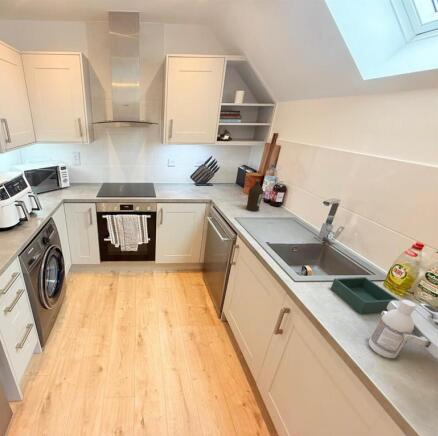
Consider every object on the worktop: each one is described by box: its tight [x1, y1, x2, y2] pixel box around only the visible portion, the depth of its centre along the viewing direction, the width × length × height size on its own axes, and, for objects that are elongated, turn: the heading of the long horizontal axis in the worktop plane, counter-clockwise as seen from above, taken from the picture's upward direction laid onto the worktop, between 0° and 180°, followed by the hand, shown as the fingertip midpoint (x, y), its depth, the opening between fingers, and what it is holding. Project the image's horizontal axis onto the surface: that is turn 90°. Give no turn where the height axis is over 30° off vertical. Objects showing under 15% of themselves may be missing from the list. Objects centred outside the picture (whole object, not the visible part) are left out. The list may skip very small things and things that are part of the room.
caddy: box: [330, 276, 401, 315], centre depth 98 cm, size 15×15×6 cm
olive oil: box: [246, 178, 264, 212], centre depth 190 cm, size 11×11×25 cm
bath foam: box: [368, 299, 416, 359], centre depth 74 cm, size 7×7×20 cm
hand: (392, 324), depth 74 cm, fingers closed on bath foam, 7 cm apart
